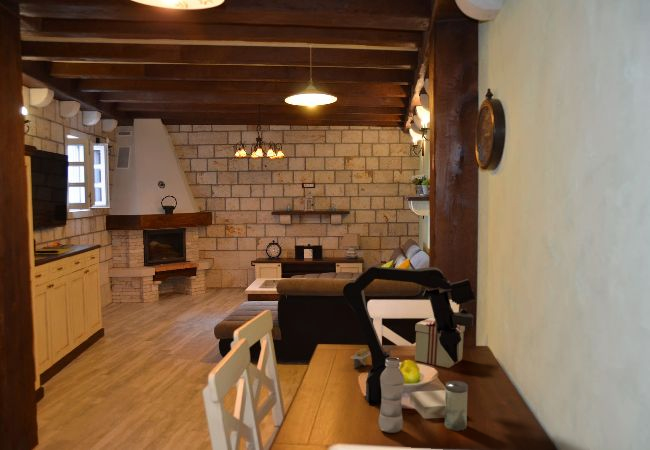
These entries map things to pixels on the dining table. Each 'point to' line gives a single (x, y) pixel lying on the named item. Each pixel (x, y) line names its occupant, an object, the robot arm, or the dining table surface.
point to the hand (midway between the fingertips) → (454, 357)
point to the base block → (429, 403)
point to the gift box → (434, 345)
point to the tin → (456, 405)
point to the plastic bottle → (391, 397)
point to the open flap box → (360, 357)
